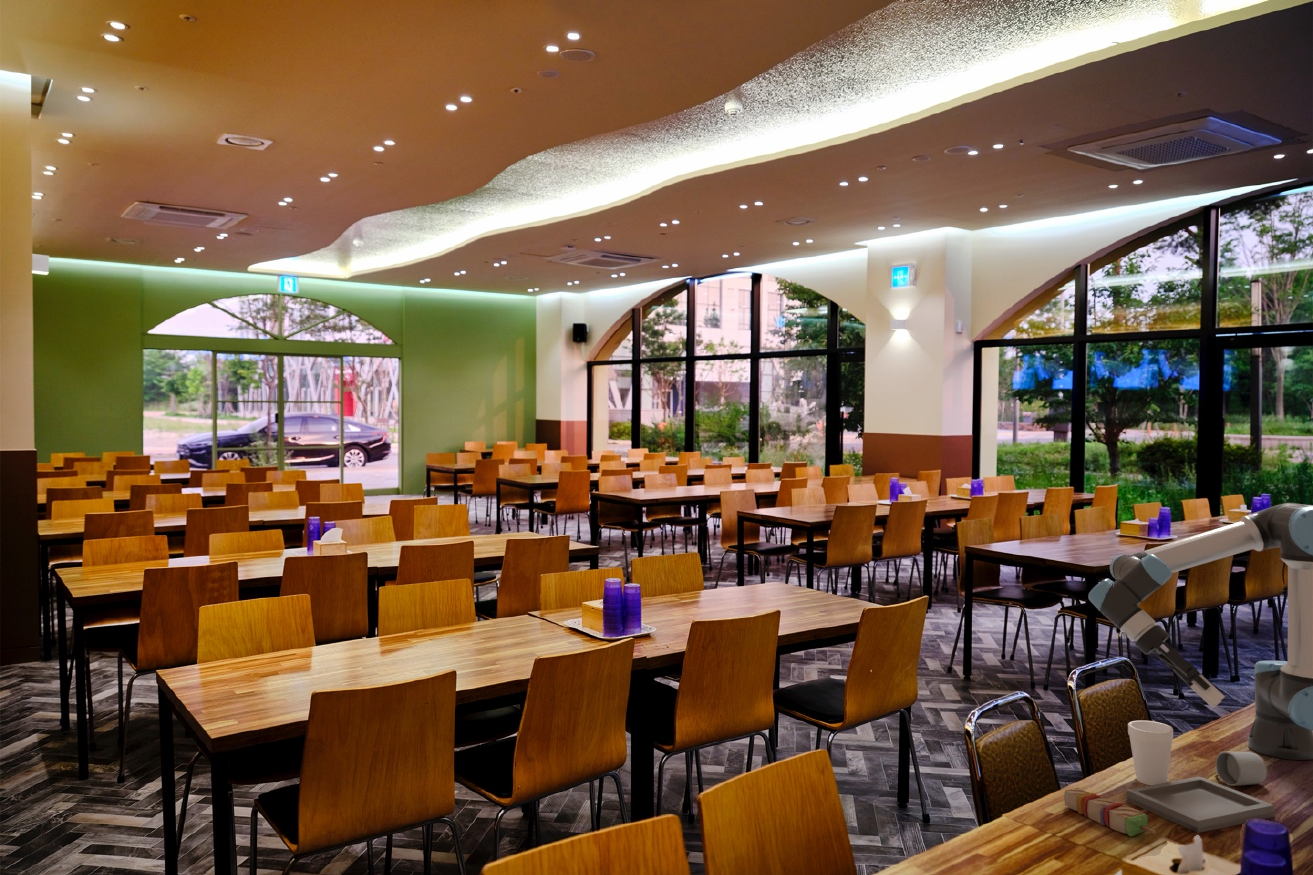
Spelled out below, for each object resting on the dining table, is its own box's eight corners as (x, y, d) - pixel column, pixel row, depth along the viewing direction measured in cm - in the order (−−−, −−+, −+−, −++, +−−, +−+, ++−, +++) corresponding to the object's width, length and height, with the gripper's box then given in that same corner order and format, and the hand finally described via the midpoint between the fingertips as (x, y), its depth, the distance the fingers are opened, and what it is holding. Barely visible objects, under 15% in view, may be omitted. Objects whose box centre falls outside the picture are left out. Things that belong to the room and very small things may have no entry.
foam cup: (1174, 777, 218) (1173, 723, 218) (1174, 790, 210) (1172, 735, 210) (1130, 771, 223) (1129, 718, 223) (1128, 783, 215) (1126, 729, 215)
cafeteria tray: (1199, 786, 212) (1199, 776, 212) (1274, 816, 195) (1273, 804, 195) (1126, 800, 205) (1126, 789, 205) (1197, 832, 188) (1197, 820, 188)
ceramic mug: (1271, 787, 211) (1269, 754, 211) (1240, 790, 209) (1239, 757, 209) (1234, 772, 221) (1233, 740, 221) (1205, 775, 220) (1204, 743, 220)
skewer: (1060, 809, 201) (1059, 787, 201) (1081, 804, 204) (1081, 782, 204) (1143, 847, 182) (1142, 822, 182) (1165, 841, 185) (1165, 816, 185)
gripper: (1134, 649, 236) (1204, 715, 224) (1131, 636, 215) (1208, 709, 204) (1157, 630, 235) (1228, 696, 223) (1156, 615, 214) (1234, 687, 203)
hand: (1218, 702), depth 214 cm, fingers open, 13 cm apart
